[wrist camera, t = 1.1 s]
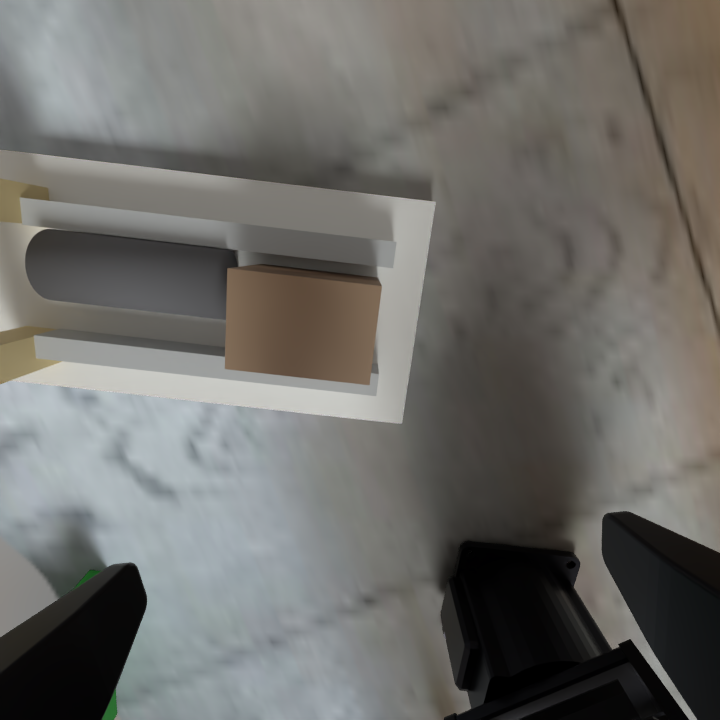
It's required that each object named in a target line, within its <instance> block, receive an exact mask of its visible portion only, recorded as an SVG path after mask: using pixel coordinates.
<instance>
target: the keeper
mask: <svg viewBox="0 0 720 720" xmlns="http://www.w3.org/2000/svg"><path fill="white" fill-rule="evenodd" d="M381 290H382V285H381V283H380V281H379V279H378V277H371V276H362V275H354V274H345V273H336V272H328V271H319V270H311V269H302V268H294V267H285V266H276V265H268V264H257V265H249V266H241V267H233V268H227V301H226V339H225V369H228V370H237V371H246V372H255V373H264V374H273V375H281V376H290V377H299V378H308V379H317V380H326V381H335V382H344V383H353V384H362V385H370V377H371V369H372V362H373V354H374V346H375V338H376V330H377V322H378V314H379V306H380V298H381Z"/></svg>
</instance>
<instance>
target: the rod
mask: <svg viewBox="0 0 720 720" xmlns="http://www.w3.org/2000/svg"><path fill="white" fill-rule="evenodd" d="M233 267H238V263H237V259H236V256H235V254H234V253H233V251H231V250H227V249H218V248H210V247H201V246H193V245H184V244H176V243H167V242H159V241H150V240H142V239H133V238H125V237H116V236H107V235H99V234H90V233H82V232H73V231H65V230H56V229H44V230H41V231H40V232H38V233H37V234H35V235H34V236H33V238H32V239H31V241H30V242H29V244H28V247H27V250H26V255H25V269H26V274H27V277H28V280H29V282H30V284H31V286H32V287H33V289H34V290H35V291H36V292H37V293H38V294H39V295H40V296H41V297H43V298H45V299H48V300H53V301H62V302H71V303H80V304H88V305H97V306H106V307H115V308H123V309H132V310H141V311H150V312H159V313H167V314H176V315H185V316H194V317H202V318H211V319H220V320H226V301H227V268H233Z"/></svg>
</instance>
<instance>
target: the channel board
mask: <svg viewBox="0 0 720 720" xmlns="http://www.w3.org/2000/svg"><path fill="white" fill-rule="evenodd" d="M435 204H436V202H433V201H425V200H416V199H408V198H400V197H391V196H383V195H375V194H366V193H358V192H350V191H341V190H333V189H325V188H316V187H308V186H300V185H292V184H283V183H275V182H267V181H258V180H250V179H242V178H233V177H225V176H217V175H208V174H200V173H192V172H183V171H175V170H167V169H158V168H150V167H142V166H134V165H125V164H117V163H109V162H100V161H92V160H84V159H75V158H67V157H59V156H50V155H42V154H34V153H25V152H17V151H9V150H1V149H0V384H2V383H5V382H8V381H17V382H26V383H35V384H44V385H53V386H62V387H71V388H81V389H90V390H99V391H108V392H117V393H126V394H135V395H144V396H153V397H162V398H171V399H180V400H189V401H198V402H207V403H216V404H226V405H235V406H244V407H253V408H262V409H271V410H280V411H289V412H298V413H307V414H316V415H325V416H334V417H343V418H352V419H361V420H370V421H380V422H389V423H398V424H402V420H403V413H404V407H405V400H406V394H407V387H408V381H409V374H410V367H411V361H412V354H413V348H414V341H415V335H416V328H417V322H418V315H419V309H420V302H421V295H422V289H423V282H424V276H425V269H426V263H427V256H428V250H429V243H430V237H431V230H432V223H433V217H434V210H435ZM44 229H56V230H65V231H73V232H82V233H90V234H99V235H107V236H116V237H125V238H133V239H142V240H150V241H159V242H167V243H176V244H184V245H193V246H201V247H210V248H218V249H227V250H231V251H233V253H234V254H235V256H236V259H237V263H238V267H241V266H249V265H257V264H268V265H276V266H285V267H294V268H302V269H311V270H319V271H328V272H336V273H345V274H354V275H362V276H371V277H378V279H379V281H380V283H381V285H382V290H381V298H380V306H379V314H378V322H377V330H376V338H375V346H374V354H373V362H372V369H371V377H370V385H362V384H353V383H344V382H335V381H326V380H317V379H308V378H299V377H290V376H281V375H273V374H264V373H255V372H246V371H237V370H228V369H225V339H226V320H220V319H211V318H202V317H194V316H185V315H176V314H167V313H159V312H150V311H141V310H132V309H123V308H115V307H106V306H97V305H88V304H80V303H71V302H62V301H53V300H48V299H45V298H43V297H41V296H40V295H39V294H38V293H37V292H36V291H35V290H34V289H33V287H32V286H31V284H30V282H29V280H28V277H27V274H26V269H25V255H26V250H27V247H28V244H29V242H30V241H31V239H32V238H33V236H34V235H35V234H37V233H38V232H40V231H41V230H44Z"/></svg>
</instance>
